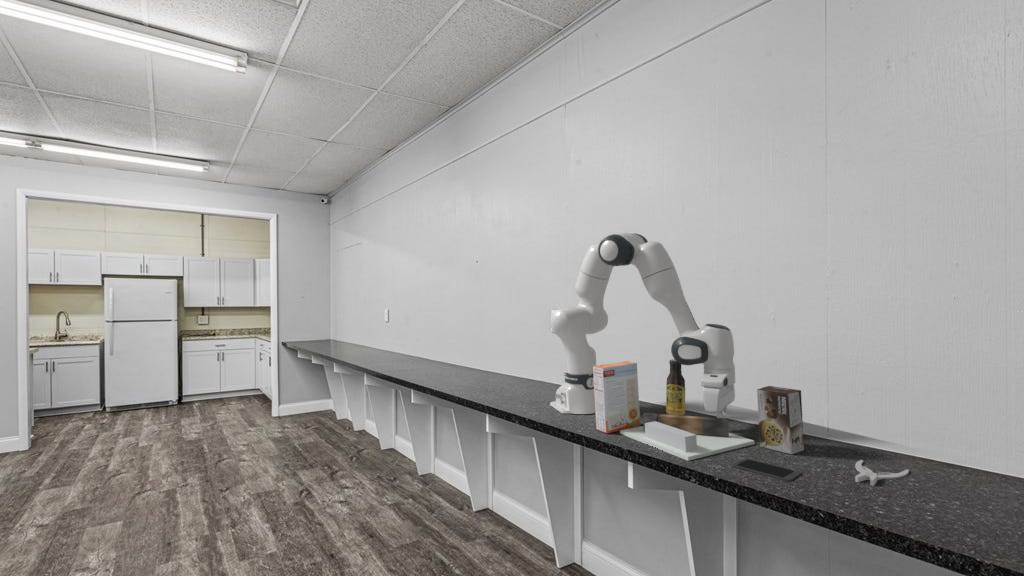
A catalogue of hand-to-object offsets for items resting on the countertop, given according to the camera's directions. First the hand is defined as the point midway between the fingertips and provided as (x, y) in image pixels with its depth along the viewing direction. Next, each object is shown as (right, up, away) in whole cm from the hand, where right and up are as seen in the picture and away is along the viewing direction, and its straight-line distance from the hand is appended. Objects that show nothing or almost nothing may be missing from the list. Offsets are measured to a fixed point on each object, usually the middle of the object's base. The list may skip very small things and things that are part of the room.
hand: (721, 421), depth 149 cm
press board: (-14, -3, -6) cm, 15 cm away
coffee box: (+9, -3, -17) cm, 20 cm away
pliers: (+19, -3, -37) cm, 42 cm away
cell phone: (-3, -4, -32) cm, 32 cm away
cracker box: (-30, -4, +7) cm, 32 cm away
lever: (-13, -2, -4) cm, 13 cm away
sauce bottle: (-8, -4, +16) cm, 19 cm away
